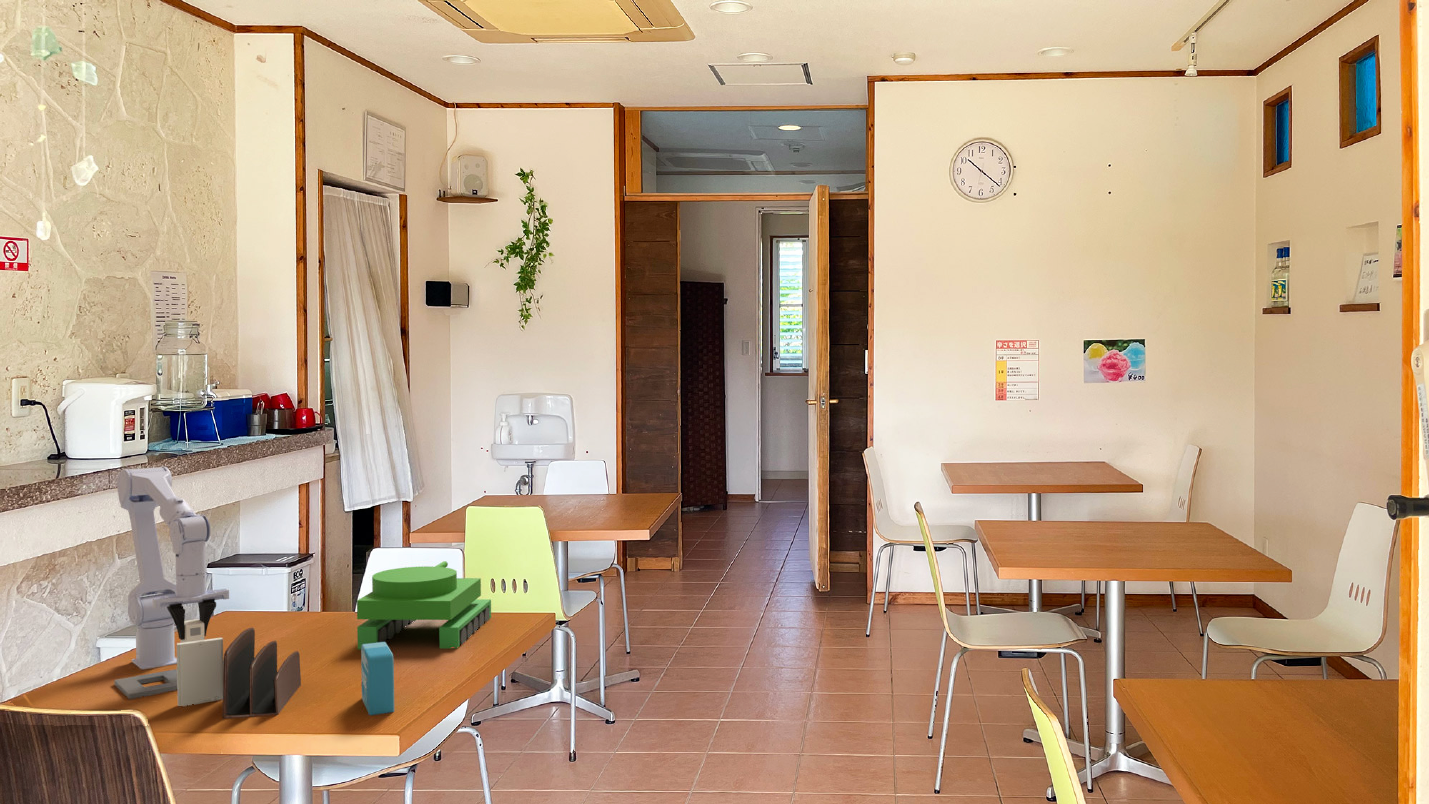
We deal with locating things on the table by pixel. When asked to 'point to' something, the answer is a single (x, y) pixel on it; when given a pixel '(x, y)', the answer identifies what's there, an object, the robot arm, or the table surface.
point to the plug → (193, 630)
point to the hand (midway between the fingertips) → (192, 637)
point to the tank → (422, 604)
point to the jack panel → (135, 689)
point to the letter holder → (257, 678)
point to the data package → (377, 678)
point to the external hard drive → (200, 671)
